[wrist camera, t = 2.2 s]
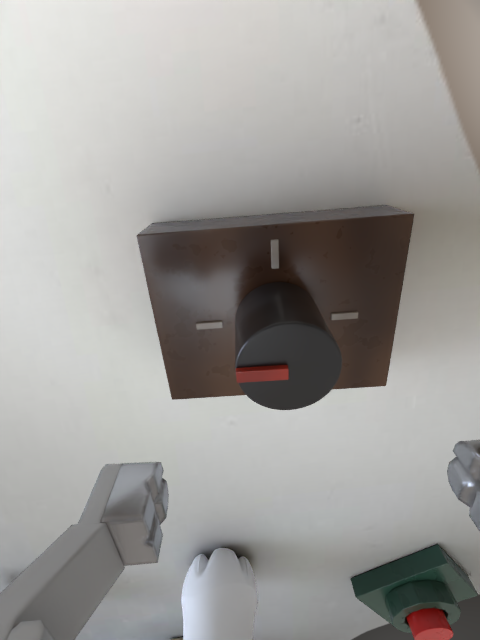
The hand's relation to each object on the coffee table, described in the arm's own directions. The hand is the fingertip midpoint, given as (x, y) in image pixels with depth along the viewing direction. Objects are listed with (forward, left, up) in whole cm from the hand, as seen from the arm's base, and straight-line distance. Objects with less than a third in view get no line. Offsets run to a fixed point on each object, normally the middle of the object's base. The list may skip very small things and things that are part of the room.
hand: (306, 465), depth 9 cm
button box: (-14, +34, -12) cm, 39 cm away
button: (-14, +34, -9) cm, 38 cm away
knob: (0, 0, -9) cm, 9 cm away
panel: (0, 0, -12) cm, 12 cm away
